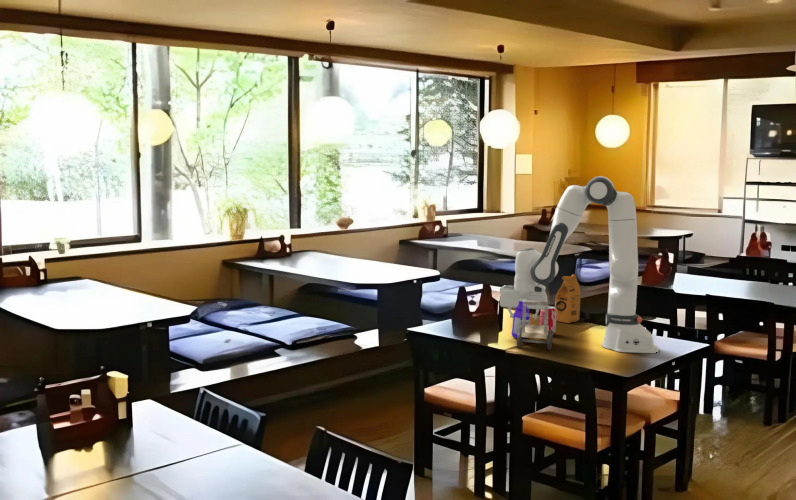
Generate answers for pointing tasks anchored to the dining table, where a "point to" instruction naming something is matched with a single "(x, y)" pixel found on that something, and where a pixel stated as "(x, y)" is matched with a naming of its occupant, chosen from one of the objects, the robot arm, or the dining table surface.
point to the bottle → (519, 318)
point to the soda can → (549, 318)
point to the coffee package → (568, 300)
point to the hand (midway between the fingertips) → (523, 318)
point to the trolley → (535, 327)
